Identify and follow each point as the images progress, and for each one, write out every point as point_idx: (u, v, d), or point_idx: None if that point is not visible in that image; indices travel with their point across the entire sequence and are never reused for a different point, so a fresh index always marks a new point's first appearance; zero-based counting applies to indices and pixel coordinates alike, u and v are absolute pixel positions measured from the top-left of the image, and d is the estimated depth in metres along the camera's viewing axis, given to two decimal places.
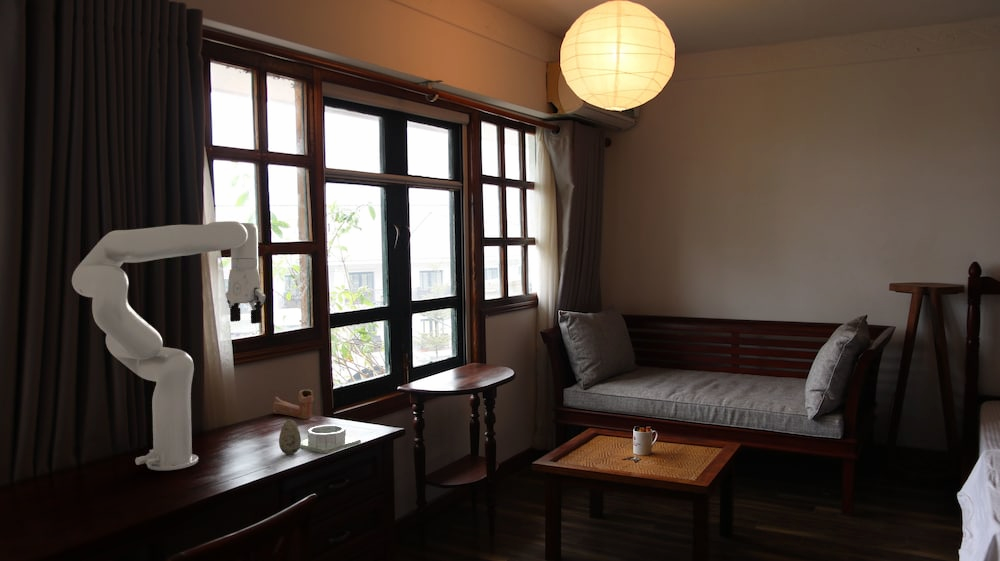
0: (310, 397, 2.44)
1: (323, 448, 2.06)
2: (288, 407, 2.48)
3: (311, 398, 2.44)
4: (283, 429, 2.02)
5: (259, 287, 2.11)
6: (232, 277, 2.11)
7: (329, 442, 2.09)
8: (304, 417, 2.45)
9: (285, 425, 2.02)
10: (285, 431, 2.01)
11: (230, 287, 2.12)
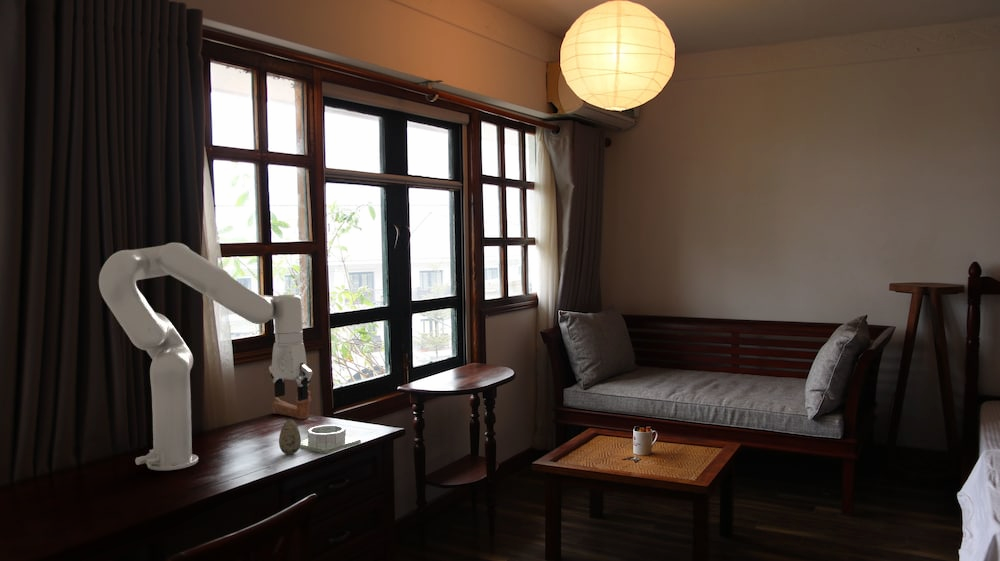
0: None
1: (323, 448, 2.06)
2: (286, 407, 2.48)
3: (308, 398, 2.44)
4: (283, 429, 2.02)
5: (305, 362, 2.01)
6: (276, 352, 2.02)
7: (329, 442, 2.09)
8: (301, 417, 2.44)
9: (285, 425, 2.02)
10: (285, 431, 2.01)
11: (274, 362, 2.02)
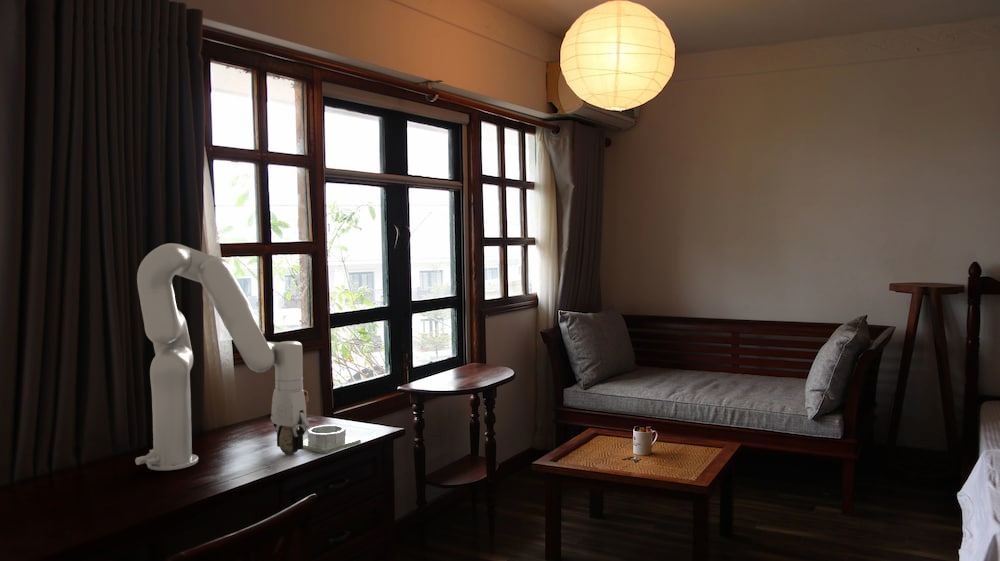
0: (305, 398, 2.43)
1: (323, 448, 2.06)
2: None
3: (306, 399, 2.43)
4: (283, 429, 2.02)
5: (304, 409, 2.02)
6: (276, 398, 2.02)
7: (329, 442, 2.09)
8: None
9: None
10: (285, 431, 2.01)
11: (273, 409, 2.03)
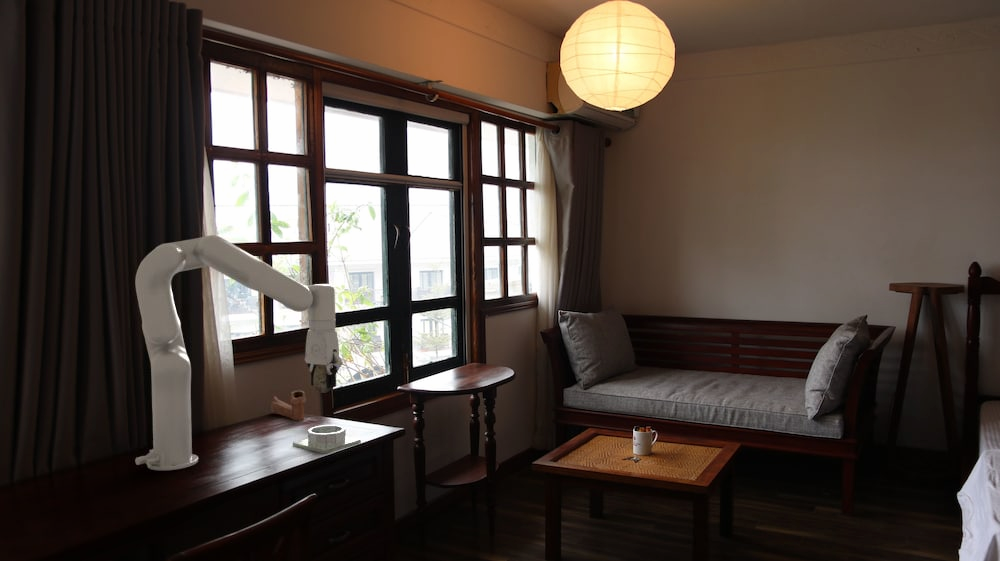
0: (301, 398, 2.42)
1: (323, 448, 2.06)
2: (283, 407, 2.48)
3: (302, 399, 2.42)
4: (317, 368, 2.10)
5: (337, 348, 2.10)
6: (310, 338, 2.11)
7: (329, 442, 2.09)
8: (296, 418, 2.43)
9: None
10: (319, 369, 2.10)
11: (308, 348, 2.12)
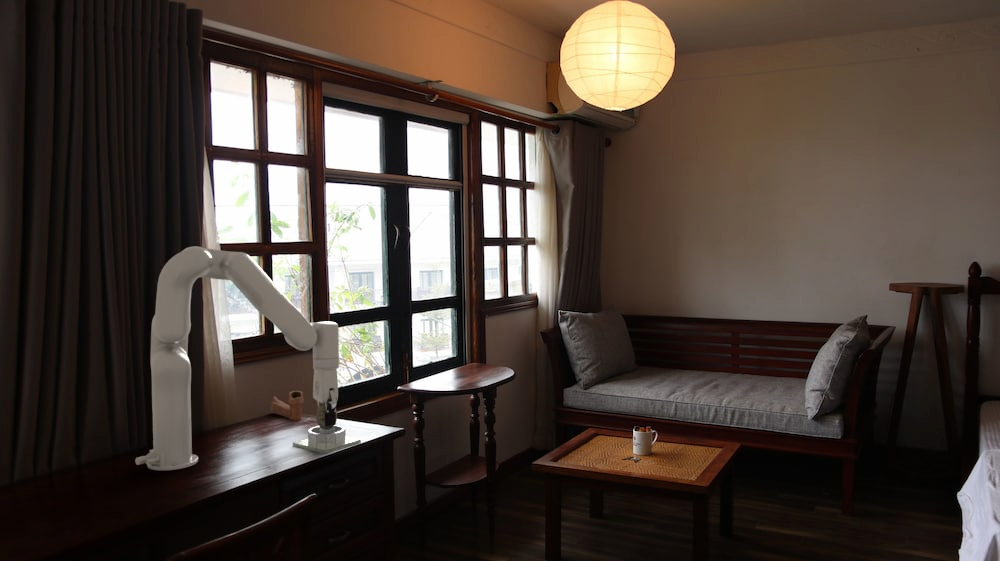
0: (299, 398, 2.41)
1: (323, 448, 2.06)
2: (282, 407, 2.48)
3: (300, 400, 2.42)
4: (319, 404, 2.12)
5: (336, 387, 2.10)
6: (314, 375, 2.14)
7: (329, 442, 2.09)
8: (293, 418, 2.43)
9: None
10: (319, 406, 2.12)
11: (313, 384, 2.15)
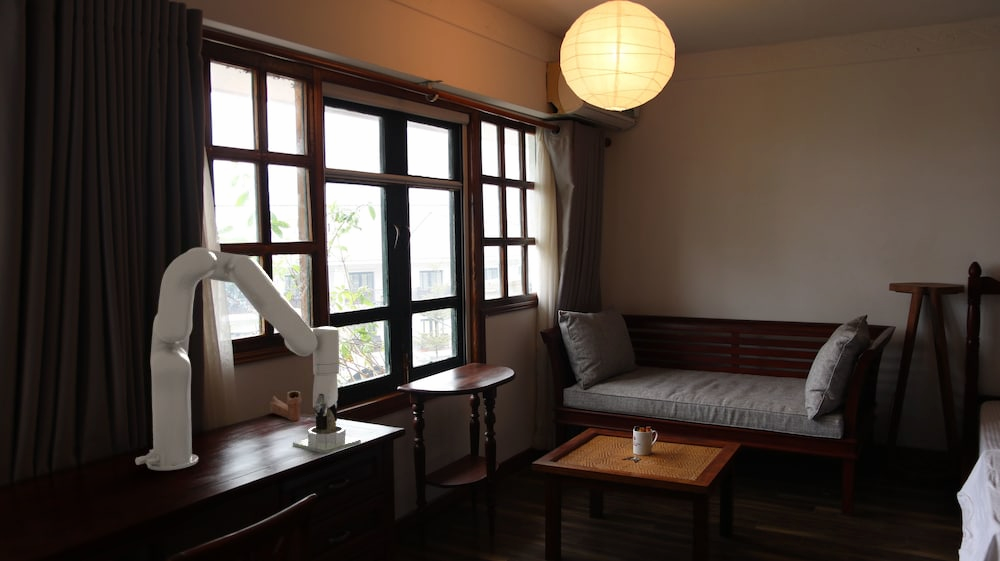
0: (297, 399, 2.41)
1: (323, 448, 2.06)
2: (280, 407, 2.48)
3: (298, 400, 2.41)
4: None
5: (325, 394, 2.08)
6: None
7: (329, 442, 2.09)
8: (291, 419, 2.42)
9: None
10: None
11: None
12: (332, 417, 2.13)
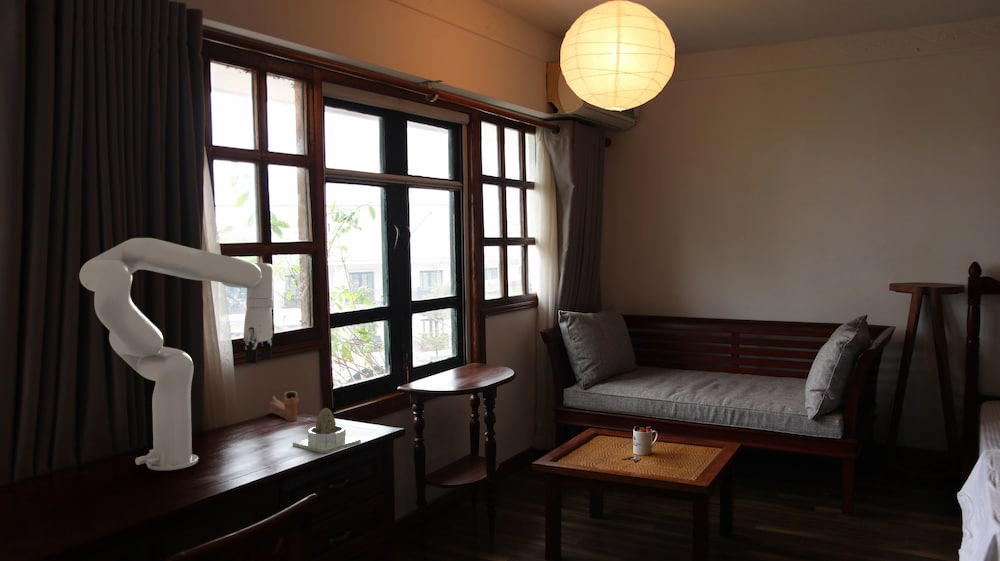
0: (293, 399, 2.41)
1: (323, 448, 2.06)
2: (279, 407, 2.48)
3: (294, 400, 2.41)
4: None
5: (256, 327, 2.09)
6: None
7: (329, 442, 2.09)
8: (288, 419, 2.42)
9: (320, 412, 2.13)
10: None
11: None
12: (332, 417, 2.13)
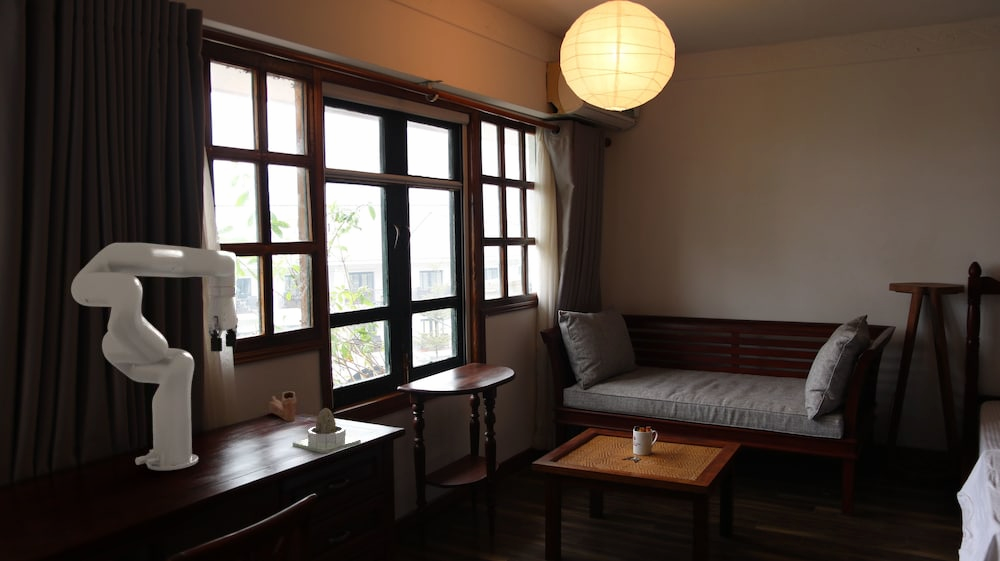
0: (291, 399, 2.40)
1: (323, 448, 2.06)
2: (277, 407, 2.48)
3: (292, 400, 2.40)
4: None
5: (220, 316, 2.10)
6: None
7: (329, 442, 2.09)
8: (286, 419, 2.42)
9: (320, 412, 2.13)
10: None
11: None
12: (332, 417, 2.13)
